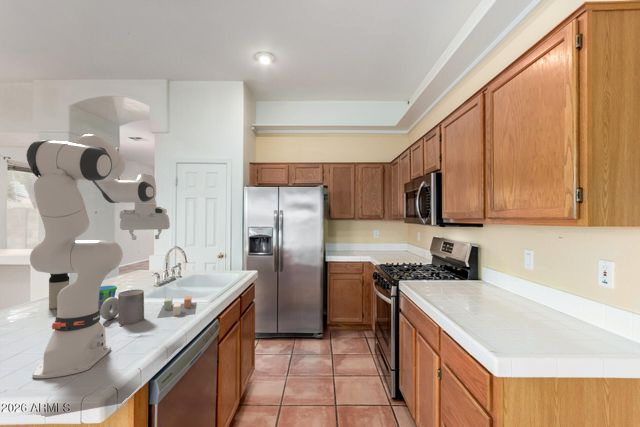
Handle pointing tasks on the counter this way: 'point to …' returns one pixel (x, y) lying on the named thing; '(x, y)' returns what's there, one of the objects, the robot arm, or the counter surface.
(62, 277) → the travel mug
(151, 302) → the counter surface
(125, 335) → the counter surface
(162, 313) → the baseplate
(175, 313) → the cream brick
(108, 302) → the donut
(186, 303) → the terracotta brick
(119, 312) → the pillar candle
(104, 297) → the snack cup
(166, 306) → the sage brick
